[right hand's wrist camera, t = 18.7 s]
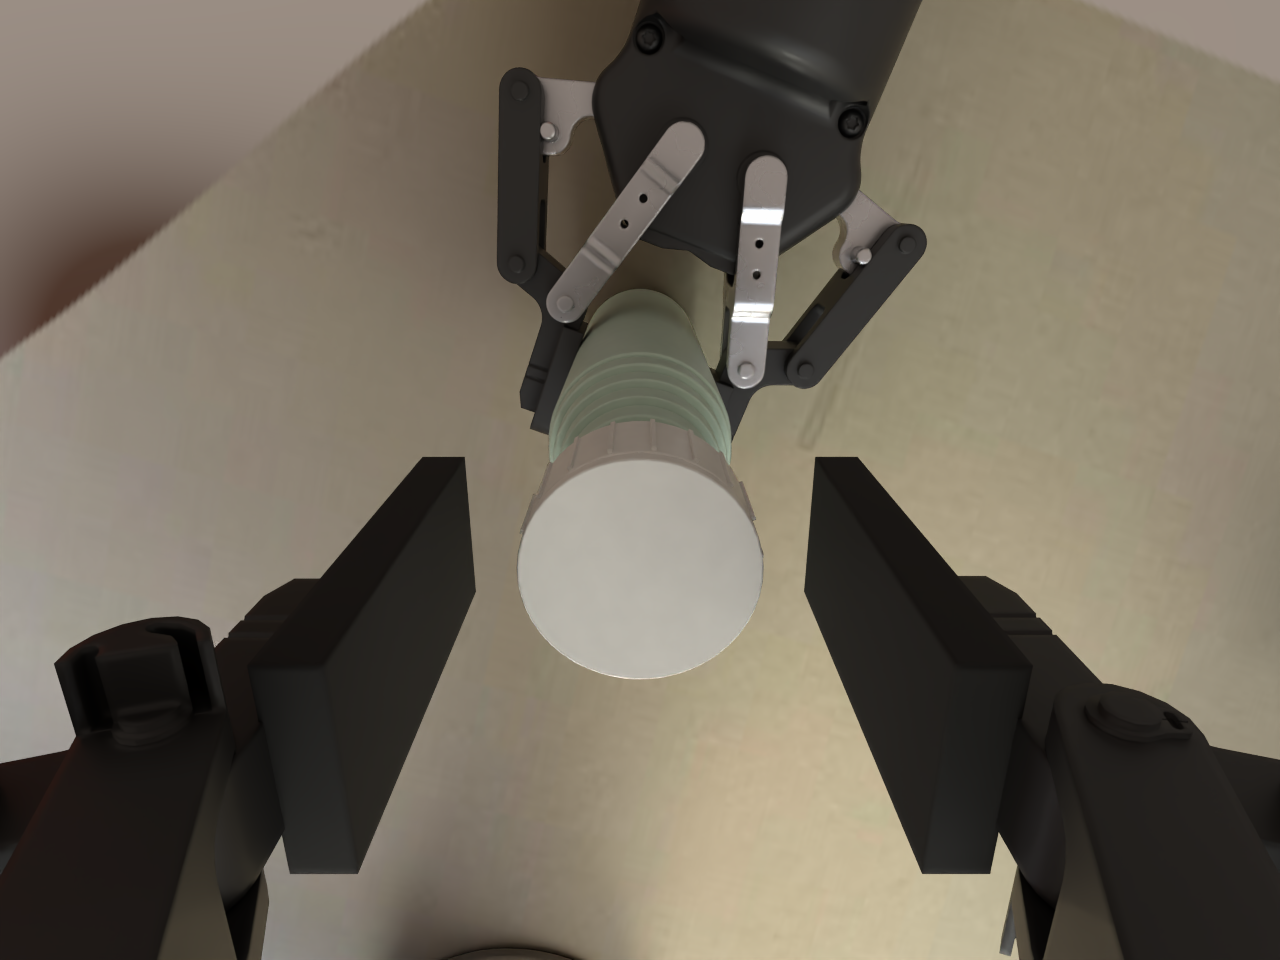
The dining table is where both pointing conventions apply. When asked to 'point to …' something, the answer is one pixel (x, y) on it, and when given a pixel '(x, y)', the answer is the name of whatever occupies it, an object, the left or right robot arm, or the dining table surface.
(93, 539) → the dining table surface
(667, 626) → the cap
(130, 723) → the right robot arm
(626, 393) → the bottle
